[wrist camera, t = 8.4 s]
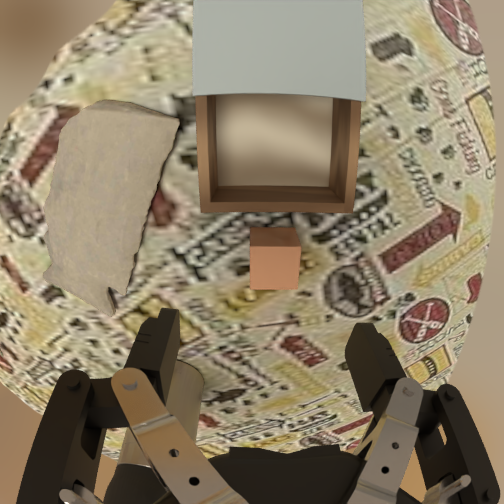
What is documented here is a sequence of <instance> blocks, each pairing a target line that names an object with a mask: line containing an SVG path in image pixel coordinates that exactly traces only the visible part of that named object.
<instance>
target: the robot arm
mask: <svg viewBox="0 0 504 504" xmlns="http://www.w3.org/2000/svg"><path fill="white" fill-rule="evenodd" d="M179 345H180V320H179V310H178V309H170V308H161V310H160V313H159V316H158V318H150V317H149V318H148V319H147V320H146V321H145V322H144V323H142V324H141V327H140V329H139V332H138V335H137V336H136V339H135V342H134V344H133V346H132V349H131V351H130V354H129V356H128V359H127V361H126V364H125V366H124V368H123V369H121V370H119V371H117V372H116V373H115V374H114V375H113V377H110V378H103V379H90V378H89V376H88V375H87V374H86V373H85V372H83V371H81V370H69V371H66V372H65V373H63V374H62V375H61V376H60V377H59V379H58V381H57V383H56V386H55V388H54V390H53V393H52V395H51V397H50V400H49V402H48V405H47V407H46V410H45V412H44V415H43V417H42V420H41V422H40V425H39V428H38V431H37V433H36V436H35V439H34V442H33V445H32V448H31V451H30V454H29V457H28V460H27V464H26V467H25V471H24V474H23V478H22V481H21V486H20V490H19V493H18V497H17V502H16V504H497V503H498V501H499V499H500V489H499V485H498V483H497V480H496V476H495V473H494V471H493V468H492V465H491V463H490V460H489V457H488V454H487V452H486V449H485V447H484V444H483V442H482V440H481V437H480V435H479V432H478V430H477V428H476V426H475V423H474V421H473V419H472V417H471V415H470V413H469V410H468V408H467V406H466V404H465V402H464V400H463V398H462V396H461V394H460V392H459V391H458V389H457V388H456V387H454V386H452V385H450V384H443V385H441V386H440V387H439V388H438V389H437V391H431V390H424V389H422V386H421V385H420V384H419V383H418V382H417V381H416V380H414V379H412V378H407V376H406V374H405V372H404V370H403V368H402V366H401V364H400V362H399V360H398V358H397V356H395V355H396V354H395V352H394V351H393V350H392V347H391V345H390V343H389V341H388V340H387V339H386V338H385V337H384V336H383V335H382V334H381V333H378V332H377V330H376V328H375V326H374V325H373V323H356V324H355V326H354V328H353V331H352V333H351V336H350V338H349V340H348V343H347V345H346V348H345V359H346V362H347V365H348V368H349V370H350V373H351V376H352V379H353V382H354V385H355V388H356V391H357V394H358V397H359V400H360V403H361V406H362V409H363V412H369V411H373V414H374V415H373V416H372V418H371V420H370V422H369V424H368V426H367V428H366V430H365V432H364V434H363V436H362V438H361V440H360V442H359V444H358V446H357V448H356V449H355V451H354V452H353V454H351V453H348V452H344V451H340V447H339V444H334V445H324V446H313V447H310V448H307V449H303V450H300V451H296V452H293V453H288V454H286V453H280V452H275V451H270V450H266V449H261V448H248V447H230V450H229V453H226V454H221V455H218V456H215V457H212V458H210V459H208V460H207V459H206V457H205V456H204V455H203V453H202V452H201V451H200V450H199V448H198V447H197V446H196V436H197V429H198V421H199V414H200V407H201V401H202V393H203V386H204V380H203V377H202V375H201V374H200V373H199V372H198V371H197V370H196V369H195V368H193V367H192V366H190V365H188V364H186V363H183V362H181V361H177V360H176V359H177V355H178V350H179ZM441 424H442V427H443V430H444V432H445V435H446V437H447V441H446V445H444V442H443V439H442V437H441V434H440V432H439V429H438V427H439V426H440V425H441ZM122 427H127V430H126V433H125V437H124V440H123V444H122V448H121V452H120V455H119V459H118V463H117V467H116V470H115V474H114V476H113V478H112V480H111V482H110V484H109V486H108V488H107V491H106V494H105V497H104V501H103V502H102V501H101V500H100V499H99V498H98V497H97V496H95V495H94V488H95V483H96V477H97V472H98V467H99V462H100V457H101V453H102V448H103V444H104V439H105V435H106V431H107V428H122ZM414 447H415V450H416V454H417V457H418V460H419V464H420V467H421V471H422V474H423V478H424V482H425V486H426V490H427V492H426V494H425V497H424V501H423V502H422V503H421V502H419V501H418V500H416V499H415V498H414V497H412V496H411V495H409V494H408V493H407V492H405V491H404V490H402V489H401V488H400V487H399V486H400V484H401V481H402V479H403V476H404V474H405V471H406V468H407V466H408V463H409V460H410V457H411V454H412V451H413V448H414Z"/></svg>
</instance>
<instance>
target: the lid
mask: <svg viewBox="0 0 504 504" xmlns="http://www.w3.org/2000/svg"><path fill="white" fill-rule="evenodd" d="M192 72H193V96H206V95H225V94H285V95H304V96H318V97H329V98H338V99H347V100H354V101H362V102H363V101H366V45H365V25H364V11H363V0H194V5H193V54H192Z"/></svg>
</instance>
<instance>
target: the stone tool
mask: <svg viewBox="0 0 504 504" xmlns="http://www.w3.org/2000/svg"><path fill="white" fill-rule="evenodd" d="M179 124H180V122H179V119H177V118H174V117H171V116H168V115H165V114H161V113H159V112H156V111H153V110H149V109H147V108H144V107H142V106H137V105H135V104H133V103H130V102H125V103H124V102H120V101H114V100H102V101H98V102H96V103H95V104H93V105H90V106H88V107H85V108H84V109H82V110H81V112H80V113H79V114H77V115H76V116H73V117H72V118H70V119H69V120H68V121H67V123H66V125H65V126H64V127H63V128H62V129H61V132H60V135H59V144H58V152H57V155H56V163H55V166H54V172H53V180H52V182H51V189H50V193H49V196H48V198H47V200H46V201H45V205H44V207H43V209H44V212H45V218H46V222H47V225H48V231H47V232H46V233H45V235H44V241H45V243H46V245H47V248H48V252H49V256H50V258H51V260H52V265H51V266H50V267H49V268H48V269H47V270H46V271H45V272H44V273H43V278H44V279H45V280H46V282H49V283H52V284H55V285H57V286H59V287H61V288H63V289H64V290H66V291H68V292H70V293H72V294H74V295H75V296H77V297H79V298H80V299H82V300H83V301H85V302H86V303H88V304H91V305H93V306H94V307H96V308H97V309H98V310H100V311H101V312H103V313H104V314H107V315H108V316H110V317H112V316H113V315H114V314H115V312H116V309H115V307H114V304H113V302H112V299H111V296H110V295H109V293H108V288H109V287H112V288H114V289H115V290H116V291H118V292H119V293H120V294H121V295H126V293H127V286H128V283H129V279H130V276H131V271H132V269H133V267H134V266H135V262H134V254H135V253H136V252H138V249H139V247H140V241H141V239H142V232H143V230H144V228H145V227H144V226H143V225H144V223H145V222H146V221H147V217H146V216H147V214H148V209H149V207H150V205H151V200H152V198H153V197H154V195H155V192H156V190H157V183H158V181H159V180H160V177H161V175H160V173H161V169H162V166H163V163H164V161H165V160H166V159H167V157H168V154H169V152H170V151H171V150H172V148H173V143H174V139H175V134H176V132H177V129H178V126H179Z"/></svg>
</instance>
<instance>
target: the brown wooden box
mask: <svg viewBox="0 0 504 504" xmlns="http://www.w3.org/2000/svg"><path fill="white" fill-rule="evenodd" d="M360 119H361V101H354V100H347V99H338V98H329V97H318V96H304V95H285V94H225V95H206V96H196V132H197V156H198V176H199V193H200V208H201V213H205V212H319V213H353V207H354V198H355V189H356V179H357V167H358V154H359V139H360Z"/></svg>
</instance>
